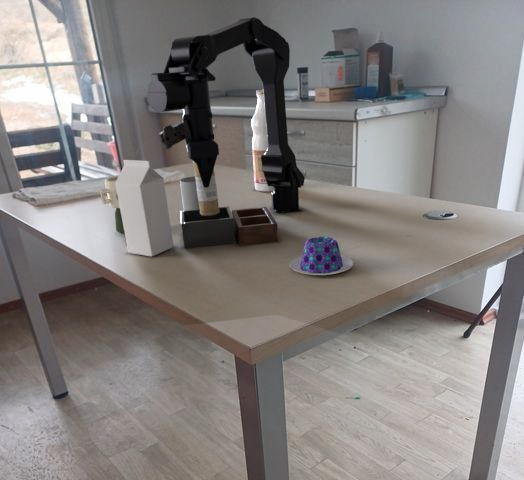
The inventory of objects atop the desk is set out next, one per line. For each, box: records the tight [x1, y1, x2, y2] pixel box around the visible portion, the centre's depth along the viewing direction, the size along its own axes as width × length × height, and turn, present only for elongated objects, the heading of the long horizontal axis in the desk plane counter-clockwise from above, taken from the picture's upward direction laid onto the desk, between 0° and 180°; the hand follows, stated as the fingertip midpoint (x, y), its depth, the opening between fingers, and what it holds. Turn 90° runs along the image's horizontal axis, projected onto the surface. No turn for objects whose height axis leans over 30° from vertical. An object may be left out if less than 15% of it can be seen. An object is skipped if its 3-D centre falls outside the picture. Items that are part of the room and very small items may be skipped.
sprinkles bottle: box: [191, 160, 220, 216], centre depth 115 cm, size 5×5×14 cm
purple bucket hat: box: [289, 236, 354, 276], centre depth 98 cm, size 12×12×5 cm
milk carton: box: [115, 159, 174, 257], centre depth 110 cm, size 7×7×19 cm
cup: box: [179, 175, 200, 211], centre depth 135 cm, size 8×8×10 cm
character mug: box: [99, 175, 125, 235], centre depth 126 cm, size 11×7×13 cm, turn 130°
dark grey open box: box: [180, 206, 236, 249], centre depth 119 cm, size 11×11×6 cm
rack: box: [231, 206, 279, 246], centre depth 121 cm, size 8×16×4 cm, turn 9°
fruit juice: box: [250, 89, 273, 192], centre depth 157 cm, size 9×9×28 cm
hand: (205, 185), depth 115 cm, fingers closed on sprinkles bottle, 4 cm apart
